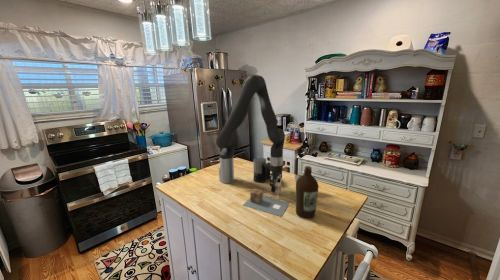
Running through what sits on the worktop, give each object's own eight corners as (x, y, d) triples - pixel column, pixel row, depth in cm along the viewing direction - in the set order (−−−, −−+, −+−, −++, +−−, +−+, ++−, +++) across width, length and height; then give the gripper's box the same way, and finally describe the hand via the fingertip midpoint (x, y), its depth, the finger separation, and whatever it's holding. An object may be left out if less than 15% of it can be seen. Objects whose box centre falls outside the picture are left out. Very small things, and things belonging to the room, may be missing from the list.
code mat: (242, 205, 113) (242, 205, 113) (254, 193, 125) (254, 193, 125) (281, 216, 103) (281, 216, 103) (289, 202, 115) (289, 202, 115)
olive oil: (291, 209, 109) (293, 164, 103) (309, 206, 111) (312, 162, 105) (300, 221, 99) (303, 172, 93) (320, 218, 101) (324, 170, 95)
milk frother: (250, 180, 143) (250, 160, 139) (261, 172, 156) (261, 154, 152) (268, 185, 135) (269, 164, 132) (279, 176, 148) (279, 157, 144)
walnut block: (250, 201, 116) (250, 192, 114) (255, 197, 120) (255, 188, 118) (258, 204, 113) (258, 194, 112) (262, 200, 117) (262, 190, 116)
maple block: (270, 193, 125) (270, 184, 123) (273, 190, 129) (273, 181, 128) (278, 195, 123) (278, 186, 121) (281, 192, 127) (281, 183, 125)
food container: (291, 191, 127) (292, 176, 125) (294, 187, 132) (294, 172, 130) (312, 196, 121) (313, 180, 119) (314, 191, 127) (315, 176, 124)
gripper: (274, 158, 129) (274, 182, 133) (265, 166, 117) (265, 192, 121) (286, 160, 125) (285, 185, 129) (278, 168, 113) (277, 195, 117)
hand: (275, 188), depth 125 cm, fingers open, 8 cm apart
